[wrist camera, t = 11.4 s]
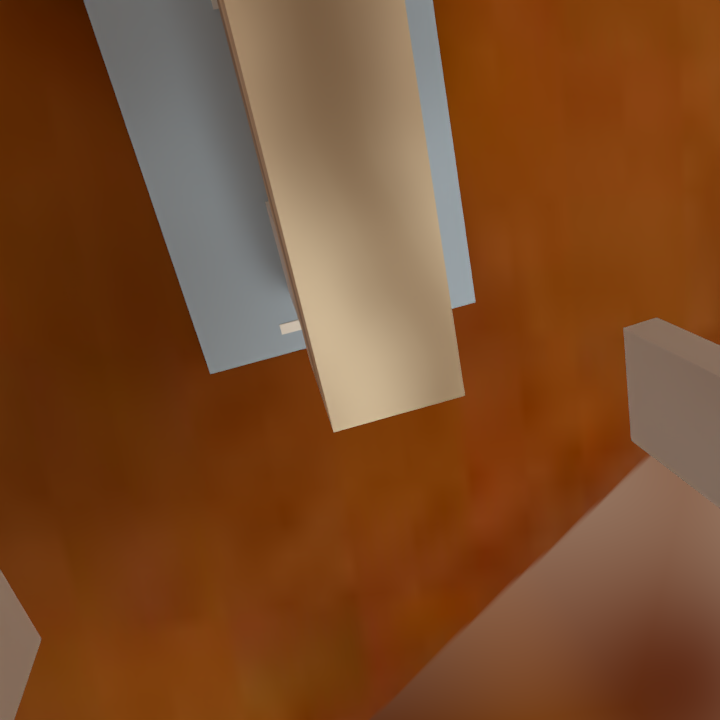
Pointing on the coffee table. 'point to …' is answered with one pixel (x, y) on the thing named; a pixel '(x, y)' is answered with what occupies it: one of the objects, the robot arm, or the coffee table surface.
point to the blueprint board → (239, 169)
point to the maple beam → (350, 197)
